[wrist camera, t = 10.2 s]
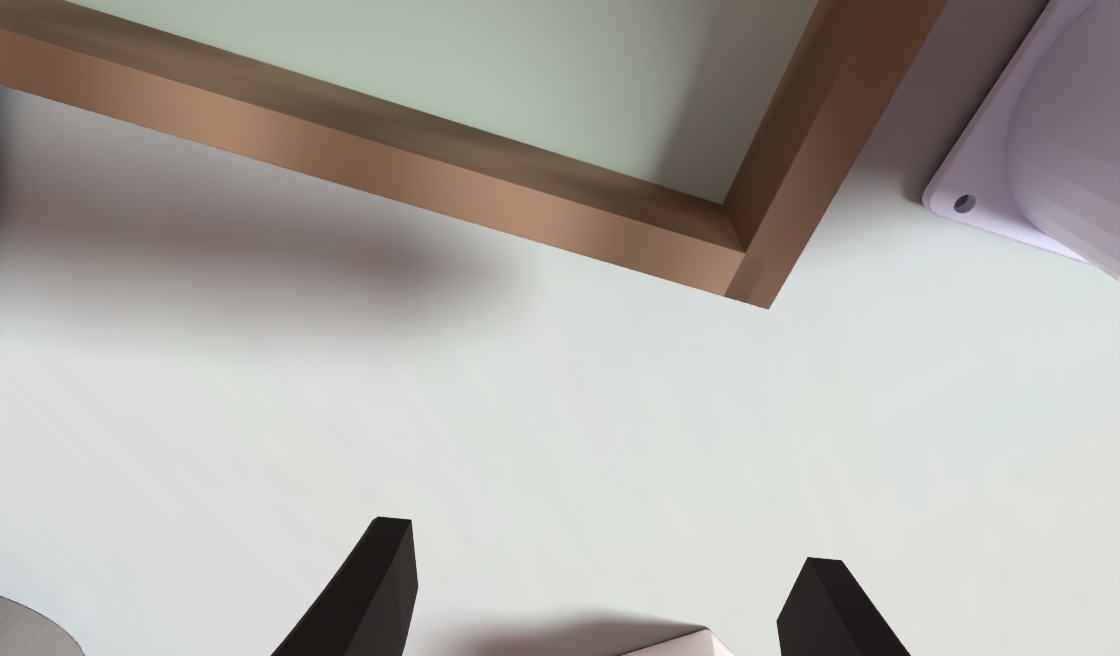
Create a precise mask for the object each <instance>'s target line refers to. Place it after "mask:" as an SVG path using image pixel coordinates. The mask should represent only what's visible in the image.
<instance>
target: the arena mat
mask: <svg viewBox="0 0 1120 656" xmlns="http://www.w3.org/2000/svg"><path fill="white" fill-rule="evenodd" d="M65 1H68V2H72V3H75V4H78V5H81V6H85V7H88V8H91V9H94V10H97V11H101V12H104V13H107V14H110V15H114V16H117V17H120V18H123V19H126V20H130V21H133V22H136V23H139V24H143V25H146V26H149V27H152V28H155V29H159V30H162V31H165V32H168V33H171V34H175V35H178V36H181V37H184V38H188V39H191V40H194V41H197V42H200V43H204V44H207V45H210V46H213V47H217V48H220V49H223V50H226V51H229V52H233V53H236V54H239V55H242V56H246V57H249V58H252V59H255V60H258V61H262V62H265V63H268V64H271V65H274V66H278V67H281V68H284V69H287V70H291V71H294V72H297V73H300V74H303V75H307V76H310V77H313V78H316V79H320V80H323V81H326V82H329V83H332V84H336V85H339V86H342V87H345V88H349V89H352V90H355V91H358V92H361V93H365V94H368V95H371V96H374V97H377V98H381V99H384V100H387V101H390V102H394V103H397V104H400V105H403V106H406V107H410V108H413V109H416V110H419V111H423V112H426V113H429V114H432V115H435V116H439V117H442V118H445V119H448V120H452V121H455V122H458V123H461V124H464V125H468V126H471V127H474V128H477V129H481V130H484V131H487V132H490V133H493V134H497V135H500V136H503V137H506V138H509V139H513V140H516V141H519V142H522V143H526V144H529V145H532V146H535V147H538V148H542V149H545V150H548V151H551V152H555V153H558V154H561V155H564V156H567V157H571V158H574V159H577V160H580V161H584V162H587V163H590V164H593V165H596V166H600V167H603V168H606V169H609V170H612V171H616V172H619V173H622V174H625V175H629V176H632V177H635V178H638V179H641V180H645V181H648V182H651V183H654V184H658V185H661V186H664V187H667V188H670V189H674V190H677V191H680V192H683V193H687V194H690V195H693V196H696V197H699V198H703V199H706V200H709V201H712V202H716V203H719V204H723V202H724V200H725V198H726V196H727V194H728V191H729V189H730V187H731V185H732V183H733V181H734V179H735V177H736V175H737V172H738V170H739V168H740V166H741V164H742V162H743V160H744V158H745V155H746V153H747V151H748V149H749V147H750V145H751V143H752V141H753V138H754V136H755V134H756V132H757V130H758V128H759V126H760V124H761V122H762V119H763V117H764V115H765V113H766V111H767V109H768V107H769V105H770V102H771V100H772V98H773V96H774V94H775V92H776V90H777V88H778V86H779V83H780V81H781V79H782V77H783V75H784V73H785V71H786V69H787V66H788V64H789V62H790V60H791V58H792V56H793V54H794V52H795V50H796V47H797V45H798V43H799V41H800V39H801V37H802V35H803V33H804V30H805V28H806V26H807V24H808V22H809V20H810V18H811V16H812V13H813V11H814V9H815V7H816V5H817V3H818V1H819V0H65Z"/></svg>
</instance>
